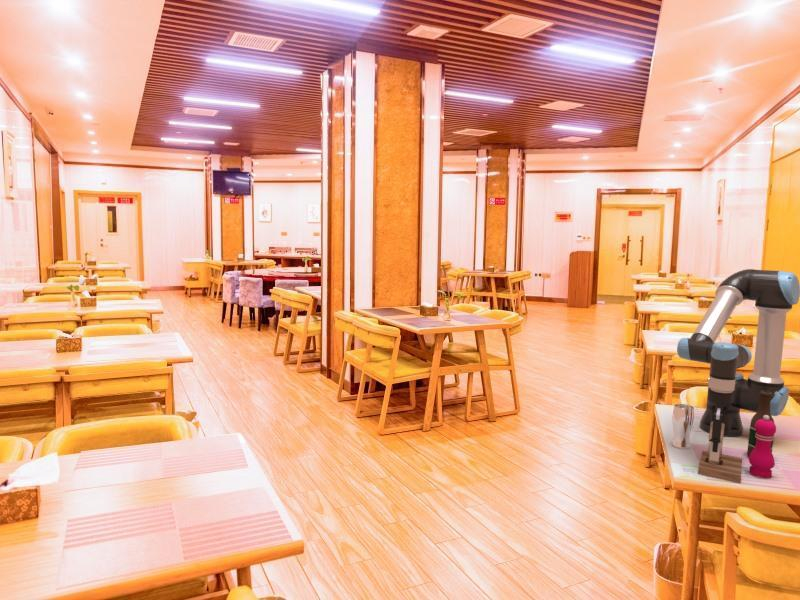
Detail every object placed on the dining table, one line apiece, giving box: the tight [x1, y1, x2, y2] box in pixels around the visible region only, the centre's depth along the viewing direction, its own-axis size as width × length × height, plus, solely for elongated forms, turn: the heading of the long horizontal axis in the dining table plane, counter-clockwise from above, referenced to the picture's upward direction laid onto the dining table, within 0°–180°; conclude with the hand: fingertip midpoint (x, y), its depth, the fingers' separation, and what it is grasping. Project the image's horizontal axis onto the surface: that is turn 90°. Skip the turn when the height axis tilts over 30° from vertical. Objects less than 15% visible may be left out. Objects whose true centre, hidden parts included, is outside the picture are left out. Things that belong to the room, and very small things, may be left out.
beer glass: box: [671, 403, 695, 450], centre depth 213 cm, size 7×7×15 cm
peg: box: [707, 422, 724, 465], centre depth 193 cm, size 4×4×14 cm
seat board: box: [697, 449, 743, 484], centre depth 193 cm, size 17×12×2 cm
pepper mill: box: [748, 415, 777, 479], centre depth 189 cm, size 7×7×20 cm
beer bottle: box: [746, 391, 776, 458], centre depth 203 cm, size 8×8×24 cm
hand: (714, 458), depth 194 cm, fingers closed on peg, 4 cm apart
